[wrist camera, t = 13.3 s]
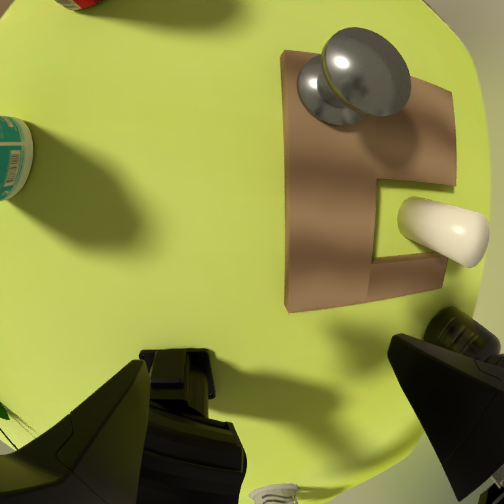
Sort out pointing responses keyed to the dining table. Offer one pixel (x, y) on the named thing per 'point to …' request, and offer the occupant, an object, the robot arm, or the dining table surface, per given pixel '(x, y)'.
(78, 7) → the soda can
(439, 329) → the supplement bottle
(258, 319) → the dining table surface
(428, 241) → the cream peg
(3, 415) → the flower
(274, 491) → the french press
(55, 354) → the dining table surface
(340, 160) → the notched board
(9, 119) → the pill bottle
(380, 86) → the bobbin
